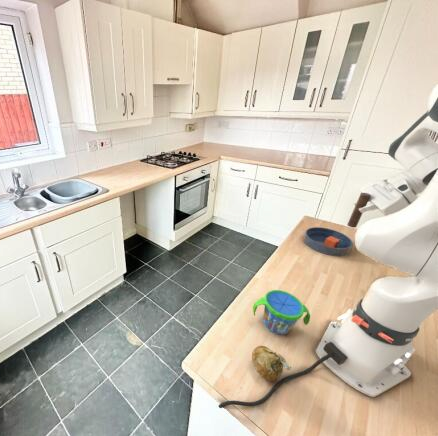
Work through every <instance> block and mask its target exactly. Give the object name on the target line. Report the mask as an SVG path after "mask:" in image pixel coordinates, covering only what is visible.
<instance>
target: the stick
mask: <svg viewBox="0 0 438 436" xmlns="http://www.w3.org/2000/svg"><path fill="white" fill-rule="evenodd" d="M370 196H371V195H370V194H368V193H361V192H360V194H359V196H358V198H357V201H356V202H357V203H356V202H355V203H356V206H355V205H354V208H353V211H352V212H351V215H350V216H349V220H348V221H347V226H348V227H349V228H353V229H354V228H357V226H358V224H359V222H360V220H361V218H362V215H363V214H364V213H361V212H360V211H359V210H358V208H360V207H362V206H363V207H365V206H368V205H367V204H368V203H369V202H370V201H369V198H370ZM368 201H369V202H368Z"/></svg>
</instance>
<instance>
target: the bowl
mask: <svg viewBox="0 0 438 436" xmlns="http://www.w3.org/2000/svg"><path fill="white" fill-rule="evenodd" d="M330 236H332V237H334V238H337V239H339V240H340V241H339V244H338V246H337V247H336V248H333V247H328V246H325V245H324V242H325V240H326V238H328V237H330ZM302 240H303V243H304V244H305V245H306V247H308V248H309V249H311V250H313V251H315V252H316V253H320V254H323V255H326V256H331V257H343V256H346V255H349V254H350V253H351V250H352V248H353V246H354V241H353V240H352V239H351V238H350V237H348V235H346V234H344V233H342V232H340V231H337V230H335V229H331V228H326V227H320V226H315V227H309V228H307V229H306V230H305V232H304V235H303V237H302Z"/></svg>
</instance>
